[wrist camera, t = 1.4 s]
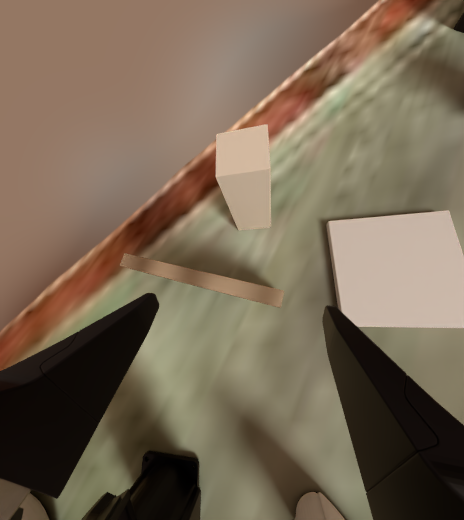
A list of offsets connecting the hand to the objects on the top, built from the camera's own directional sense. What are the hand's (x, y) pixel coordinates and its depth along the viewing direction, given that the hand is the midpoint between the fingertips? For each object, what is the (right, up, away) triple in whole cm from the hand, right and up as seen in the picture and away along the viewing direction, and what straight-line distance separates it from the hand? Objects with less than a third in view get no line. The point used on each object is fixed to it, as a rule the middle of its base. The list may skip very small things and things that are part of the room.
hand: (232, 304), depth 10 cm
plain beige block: (+3, +9, +16) cm, 18 cm away
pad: (+18, +1, +11) cm, 21 cm away
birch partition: (-3, -1, +15) cm, 15 cm away
